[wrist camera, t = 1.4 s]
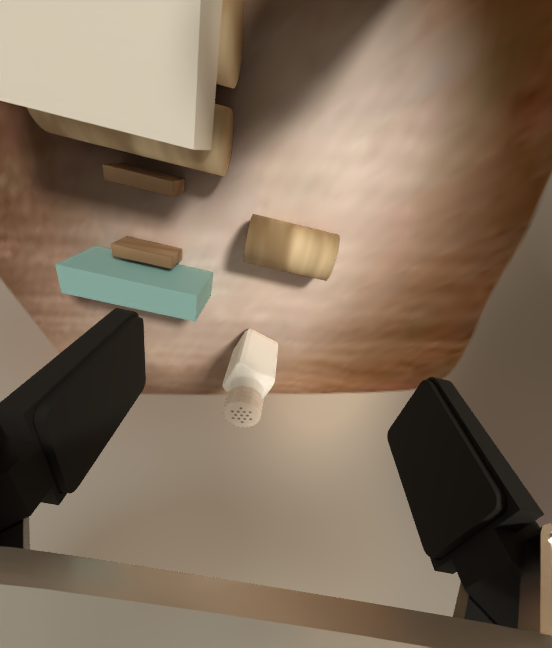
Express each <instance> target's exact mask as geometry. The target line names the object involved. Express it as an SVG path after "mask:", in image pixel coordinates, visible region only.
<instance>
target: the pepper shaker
mask: <svg viewBox="0 0 552 648" xmlns="http://www.w3.org/2000/svg"><path fill="white" fill-rule="evenodd" d="M277 352H278V344H277V342H276V341H274V340H272V339H270V338H268V337H266V336H264V335H262V334H261V333H259V332H257V331H255V330H253V329H248V330H247V331H245V332H244V334H243V335H242V337H241V339H240V340H239V342H238V343H237V345H236V346H235V348H234V350H233V353H232V356H231V359H230V362H229V365H228V368H227V371H226V375H225V378H224V381H223V388H224V390H225V391H226V392H228V393H227V398H226V401H225V405H224V409H223V413H222V414H223V416H224V418H225V419H226V421H228V422H229V423H230V424H232V425H234V426H238V427H242V428H243V427H252V426H254V425H255V424H257V423H258V422H259V420H260V418H261V413H262V406H263V398H264V397H265V395H266V394H267V393H268V392H269V390H270V389H271V388H272V386H273V385H274V382H275V374H276V363H277Z"/></svg>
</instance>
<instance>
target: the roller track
mask: <svg viewBox="0 0 552 648" xmlns="http://www.w3.org/2000/svg"><path fill="white" fill-rule="evenodd" d="M243 42H244V5H243V0H223V2H222V15H221V28H220V42H219V55H218V68H217V81H216V84H219V85H222V86H226V87H230V88H235V87H236V84H237V82H238V78H239V74H240V68H241V62H242V54H243ZM27 109H28V111H29V113H30V115H31V116H32V118H33V119H34V121H35V122H36V123H37V124H38V125H39V126H40V127H41V128H42V129H43V130H45V131H47V132H49V133H52V134H56V135H60V136H64V137H68V138H72V139H76V140H80V141H84V142H88V143H92V144H96V145H100V146H104V147H108V148H112V149H116V150H120V151H124V152H128V153H132V154H136V155H140V156H144V157H148V158H152V159H156V160H160V161H164V162H168V163H172V164H176V165H180V166H184V167H188V168H192V169H196V170H200V171H204V172H208V173H212V174H216V175H220V176H225V174H226V172H227V170H228V167H229V163H230V158H231V152H232V145H233V130H234V123H233V113H232V109H231V108H229V107H226V106H222V105H218V104H215V108H214V121H213V134H212V148H211V150H193V149H189V148H185V147H181V146H177V145H173V144H169V143H166V142H162V141H158V140H154V139H150V138H146V137H142V136H138V135H134V134H130V133H126V132H122V131H118V130H114V129H111V128H107V127H103V126H99V125H95V124H91V123H87V122H83V121H79V120H75V119H71V118H67V117H63V116H59V115H56V114H52V113H48V112H44V111H40V110H36V109H32V108H28V107H27ZM102 166H103V175H104V180H107V181H111V182H115V183H119V184H123V185H127V186H131V187H136V188H140V189H144V190H148V191H152V192H156V193H160V194H164V195H169V196H175V195H178V194H181V193H184V179H183V178H179V177H175V176H171V175H167V174H163V173H159V172H155V171H151V170H147V169H142V168H138V167H134V166H130V165H126V164H122V163H117V164H102ZM111 248H112V256H117V257H121V258H125V259H130V260H134V261H139V262H143V263H148V264H152V265H156V266H161V267H165V268H170V269H172V268H173V267H174V266H175V265H176V264H177V263H178V262H180V261H181V260H182V249H180V248H176V247H172V246H167V245H163V244H159V243H154V242H150V241H146V240H141V239H137V238H133V237H128V236H126V237H124V238H122V239H120V240H118V241H116V242H114V243H112V244H111Z"/></svg>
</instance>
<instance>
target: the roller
mask: <svg viewBox="0 0 552 648" xmlns="http://www.w3.org/2000/svg"><path fill="white" fill-rule="evenodd" d="M339 241H340V238H339V235H337V234H333V233H329V232H325V231H321V230H317V229H313V228H309V227H304V226H300V225H296V224H292V223H288V222H284V221H280V220H276V219H272V218H267V217H263V216H259V215H255V214H253V215H252V217H251V220H250V224H249V228H248V233H247V238H246V243H245V250H244V262H248V263H252V264H256V265H260V266H265V267H269V268H273V269H278V270H282V271H286V272H291V273H295V274H299V275H304V276H308V277H312V278H317V279H321V280H325V281H326V280H327V279H328V278H329V276H330V275H331V272H332V270H333V267H334V264H335V261H336V258H337V254H338V249H339Z"/></svg>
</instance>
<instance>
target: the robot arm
mask: <svg viewBox="0 0 552 648" xmlns="http://www.w3.org/2000/svg"><path fill="white" fill-rule="evenodd" d="M145 381H146V376H145V351H144V325H143V319H142V318H139V317H138V314H137V313H136V312H133V311H129V310H124V309H120V308H116V309H114V310H113V311H111V312H110V313H109V314H108V315H107V316H105V317H104V318H103V319H102V320H100V321H99V322H98V323H97V324H96V325H94V326H93V327H92V328H91V329H89V330H88V331H87V332H86V333H85V334H83V335H82V336H81V337H80V338H78V339H77V340H76V341H75V342H74V343H72V344H71V345H70V346H69V347H67V348H66V349H65V350H64V351H63V352H61V353H60V354H59V355H58V356H56V357H55V358H54V359H53V360H52V361H50V362H49V363H48V364H47V365H46V366H44V367H43V368H42V369H41V370H39V371H38V372H37V373H36V374H35V375H33V376H32V377H31V378H30V379H28V380H27V381H26V382H25V383H24V384H22V385H21V386H20V387H19V388H17V389H16V390H15V391H14V392H12V393H11V394H10V395H9V396H8V397H7V398H5V399H4V400H3V401H1V402H0V648H552V524H546V525H544V526H542V527H541V528H540V527H539V525H538V524H537V522H536V521H535V520H537V519H538V518H539V517H541V516H543V515H544V513H543V512H542V511H541V509H540V508H539V506H538V505H537V503H536V502H535V501H534V499H533V498H532V496H531V495H530V494H529V492H528V491H527V489H526V488H525V486H524V485H523V484H522V482H521V481H520V479H519V478H518V476H517V475H516V474H515V472H514V471H513V469H512V468H511V466H510V465H509V464H508V462H507V461H506V459H505V458H504V456H503V455H502V454H501V453H500V451H499V449H498V448H497V446H496V445H495V444H494V442H493V441H492V439H491V438H490V437H489V435H488V434H487V432H486V431H485V429H484V428H483V427H482V425H481V424H480V422H479V421H478V419H477V418H476V417H475V415H474V414H473V412H472V411H471V409H470V408H469V407H468V405H467V404H466V402H465V401H464V399H463V398H462V397H461V395H460V394H459V392H458V391H457V390H456V388H455V387H454V385H453V384H452V383H451V382H450V381H447V380H443V379H439V378H434V377H430V378H428V379H427V380H424V381H422V382H421V383H420V385H419V386H418V388H417V389H416V391H415V392H414V394H413V395H412V397H411V398H410V399H409V401H408V402H407V404H406V405H405V407H404V408H403V410H402V411H401V413H400V414H399V416H398V417H397V419H396V420H395V422H394V423H393V424H392V426H391V427H390V429H389V431H388V442H389V445H390V448H391V452H392V455H393V457H394V461H395V464H396V467H397V469H398V473H399V476H400V479H401V482H402V485H403V488H404V491H405V494H406V497H407V500H408V503H409V506H410V509H411V512H412V515H413V518H414V521H415V524H416V527H417V530H418V534H419V536H420V539H421V542H422V546H423V548H424V551H425V552H426V554H427V555H428V556H429V557H430V559H431V561H432V564H433V567H434V570H435V571H440V572H446V573H451V574H454V573H455V572H458V575H459V577H460V580H461V583H460V588H459V592H458V596H457V601H456V605H455V609H454V614H453V617H449V616H443V615H438V614H432V613H425V612H420V611H414V610H408V609H402V608H396V607H390V606H384V605H378V604H373V603H367V602H360V601H355V600H348V599H342V598H336V597H330V596H324V595H318V594H312V593H306V592H299V591H294V590H288V589H281V588H275V587H269V586H263V585H257V584H251V583H244V582H238V581H233V580H226V579H220V578H214V577H208V576H201V575H195V574H189V573H182V572H176V571H169V570H163V569H157V568H151V567H145V566H138V565H132V564H126V563H119V562H113V561H107V560H100V559H93V558H86V557H79V556H72V555H64V554H57V553H50V552H43V551H35V550H30V536H29V535H30V534H29V516H30V515H31V514H32V513H33V512H34V510H35V509H36V508H37V506H38V505H39V504H40V502H44V503H49V504H55V505H59V504H60V503H61V501H62V500H63V498H64V497H65V496H66V494H67V493H72V492H74V491H75V490H76V489H77V487H78V486H79V485H80V483H81V482H82V480H83V479H84V477H85V476H86V474H87V473H88V471H89V470H90V468H91V467H92V465H93V464H94V462H95V461H96V459H97V458H98V456H99V455H100V453H101V452H102V450H103V449H104V447H105V446H106V444H107V443H108V441H109V440H110V438H111V437H112V435H113V434H114V432H115V431H116V429H117V428H118V426H119V425H120V423H121V422H122V420H123V419H124V417H125V416H126V414H127V412H128V411H129V410H130V408H131V407H132V405H133V404H134V402H135V401H136V399H137V398H138V396H139V395H140V393H141V392H142V390H143V388H144V385H145Z"/></svg>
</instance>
